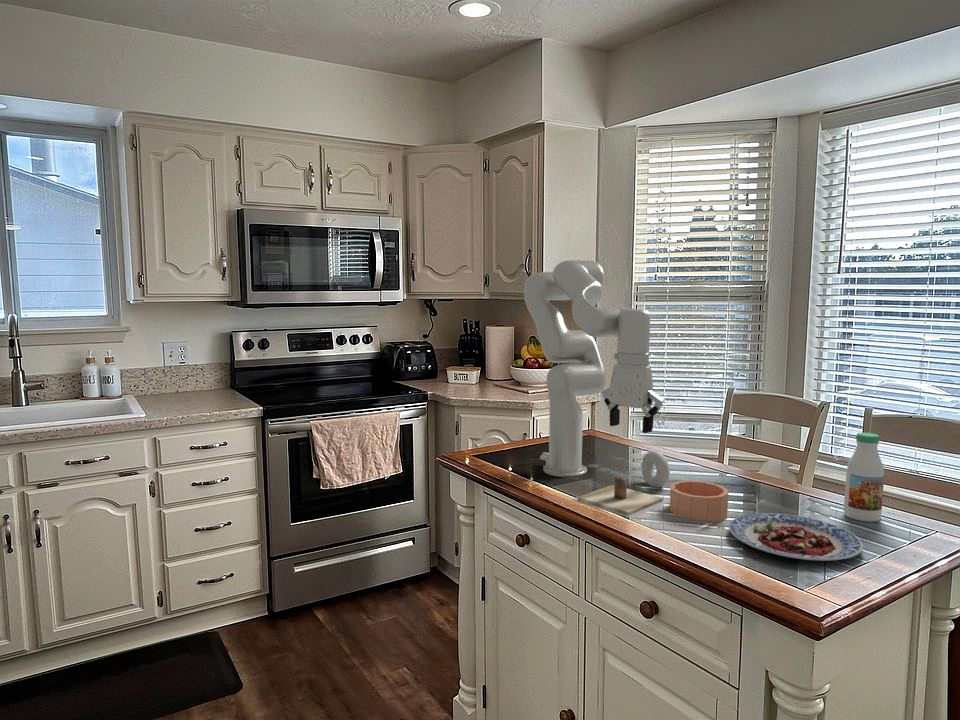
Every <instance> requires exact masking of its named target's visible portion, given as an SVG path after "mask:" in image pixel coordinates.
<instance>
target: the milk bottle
mask: <svg viewBox="0 0 960 720" xmlns="http://www.w3.org/2000/svg"><path fill="white" fill-rule="evenodd" d="M855 442H856V448H855V450H854V452H853V454H852V455H851V457H850V459H849V460H848V463H847V467H846V474H845V484H844V485H845V486H844V498H843V499H844V501H843V514H844V516H845V517H847V518H849V519H852V520H856V521H861V522H867V523H871V522H872V523H875V522H879V521H880V520H881V518H882V511H883V510H882V508H883V498H884V497H883V496H884V481H885V469H884V464H883V461H882V459H881V457H880V454H879V450H878V446H879V443H880V436H879V435H878V434H876V433H873V432H872V433H871V432H858V433H857V434H856V441H855Z"/></svg>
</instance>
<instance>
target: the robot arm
mask: <svg viewBox="0 0 960 720" xmlns="http://www.w3.org/2000/svg"><path fill="white" fill-rule="evenodd" d="M604 280H605V272H604V270H603V267H602V266H601V264H599V263H598V262H597V261H594V260H579V259H578V260H576V259H575V260H574V259H572V260H571V259H569V260H563V261H561V262H559V263H558V264H556V266H555V267H554V269H553V271H542V272H535V273H533V274H531V275H528V277H527V278H526V279H525V282H524V286H523V298H524V302H525V306H526V308H527V310H528V312H529V314H530V317H532V320H533V322H534V325H535V328H536V332H537V335H538V339H539V343H540V346H541V349H542V353H543V355H544V357H545V359H546V360H547V361H548V362H549V363H553V364H554V363H555V364H556V365H554V366H552V367H551V368H549V370H548V372H547V373H546V386H547V387H546V388H547V392H548V400H549V415H548V417H549V429H548V430H549V431H548V433H549V434H548V435H549V436H548V437H549V438H548V452H546V451H543V452H542V453H541V455H540V456H539V460H541V461H544V462H545V465H543V472H544V473H545V474H547V475H548V476H554V477H559V478H561V477H562V478H566V477H577V476H582V475H584V474H586V473H587V472H588V468H587V466H585V465H583V464H582V463H583V459H582V458H583V423H584V422H583V420H584V418H583V417H584V416H583V410H582V407H581V405H580V404H579V402H578V400H577V398H578V397H585V396H595V395H599V394H602V397H603V401H604V404H606V407H607V409H608V411H609V426H610V427H615V426H619V425H620V422H621V421H620V420H621V419H620V416H621V415H620V414H621V410H620V409H619V407H620V406H621V407H626V408H633V409H641V410H642V412H643V414H644V416H643V417H642V433H643V434H648V433H651V432H653V428H654V417H655V416H656V414H657V413H658V412H660V410H661V408H662V406H663V404H664V403H665V399H664V398H662V397H660V396H659V395H658V394H656V393H655V392H654V383H653V382H654V379H653V374H652V367H651V366H650V365H649V363H650V362H649V361H650V340H651V339H650V336H651V335H650V334H651V333H650V332H651V314H650V312H649V310H646V309H643V308H632V307H628V306H627V307H626V306H600V307H599V306H597V304H598V303H599V302H600V300H601V299H602V297H603V288H602V285H603V284H604ZM550 301H553V302H554V301H571V314H572V318H573V319H572V320H573V321H574V322H575V325H577V326H578V328H579V329H580V330H579V329H577V330H576V329H571V330H570V329H569V328H568V327H567V325H566V323H565V319H564V316H563V315H562V313H561V312H560V310H559V309H558V308H557V307H556V306H555V305H553V304H552V303H551V302H550ZM596 306H597V307H596ZM610 337H611V338H612V337H613V338H616V337H617V353H614V354H613V358H614V359H615V360H616V363H614V365H613V367H612V372H611V376H610V384H609V387H608V388H606V386H607V375H606V371H605V368H604V365H603V361H602V357H601V355H600V351H599V349H598V346H597V342H596V341H595V339H594V338H610ZM605 388H606V389H605ZM653 402H654V405H653ZM652 405H653V406H652Z"/></svg>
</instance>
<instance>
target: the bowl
mask: <svg viewBox="0 0 960 720" xmlns="http://www.w3.org/2000/svg"><path fill="white" fill-rule="evenodd" d="M669 501H670V502H669V511H670V512H671V513H673V514H675V515H676V516H678V517H682V518H684V519H689V520H696V521H705V522H707V523H708V524H710V523H711V524H712V523H720V522H723V521H724V520H726V519H728V505H729V491H728V489H727V488H726V487H723V486H722V485H720V484H717V483H712V482H709V481H703V480H702V481H700V480H691V479H690V480H679V481H675V482H672V483H670V493H669ZM708 521H709V522H708Z"/></svg>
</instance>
